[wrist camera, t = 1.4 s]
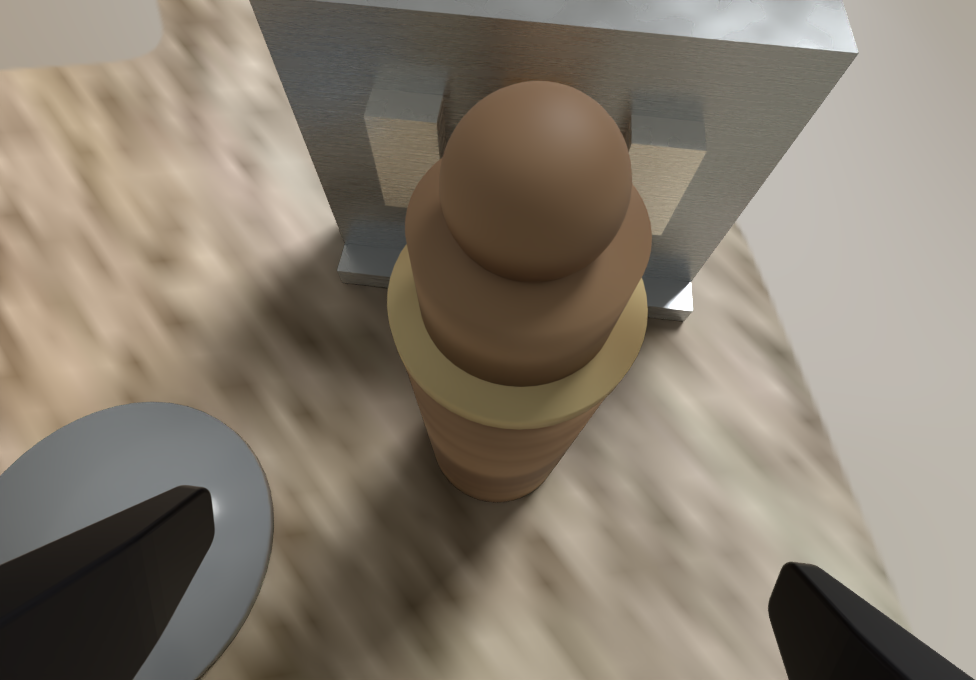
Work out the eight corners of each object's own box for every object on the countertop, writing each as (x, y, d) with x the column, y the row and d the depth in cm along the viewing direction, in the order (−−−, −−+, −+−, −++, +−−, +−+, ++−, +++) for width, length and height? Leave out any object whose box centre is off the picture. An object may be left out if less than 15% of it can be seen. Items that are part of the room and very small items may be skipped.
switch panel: (684, 321, 23) (871, 93, 12) (342, 282, 23) (227, 29, 13) (677, 218, 26) (827, -46, 15) (370, 185, 26) (294, -95, 15)
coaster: (180, 784, 16) (169, 791, 15) (-124, 678, 16) (-144, 682, 16) (319, 445, 20) (315, 441, 20) (76, 378, 21) (66, 372, 21)
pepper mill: (546, 519, 19) (761, 348, 5) (414, 483, 20) (247, 227, 5) (571, 393, 21) (769, 15, 7) (452, 363, 22) (409, -48, 7)
